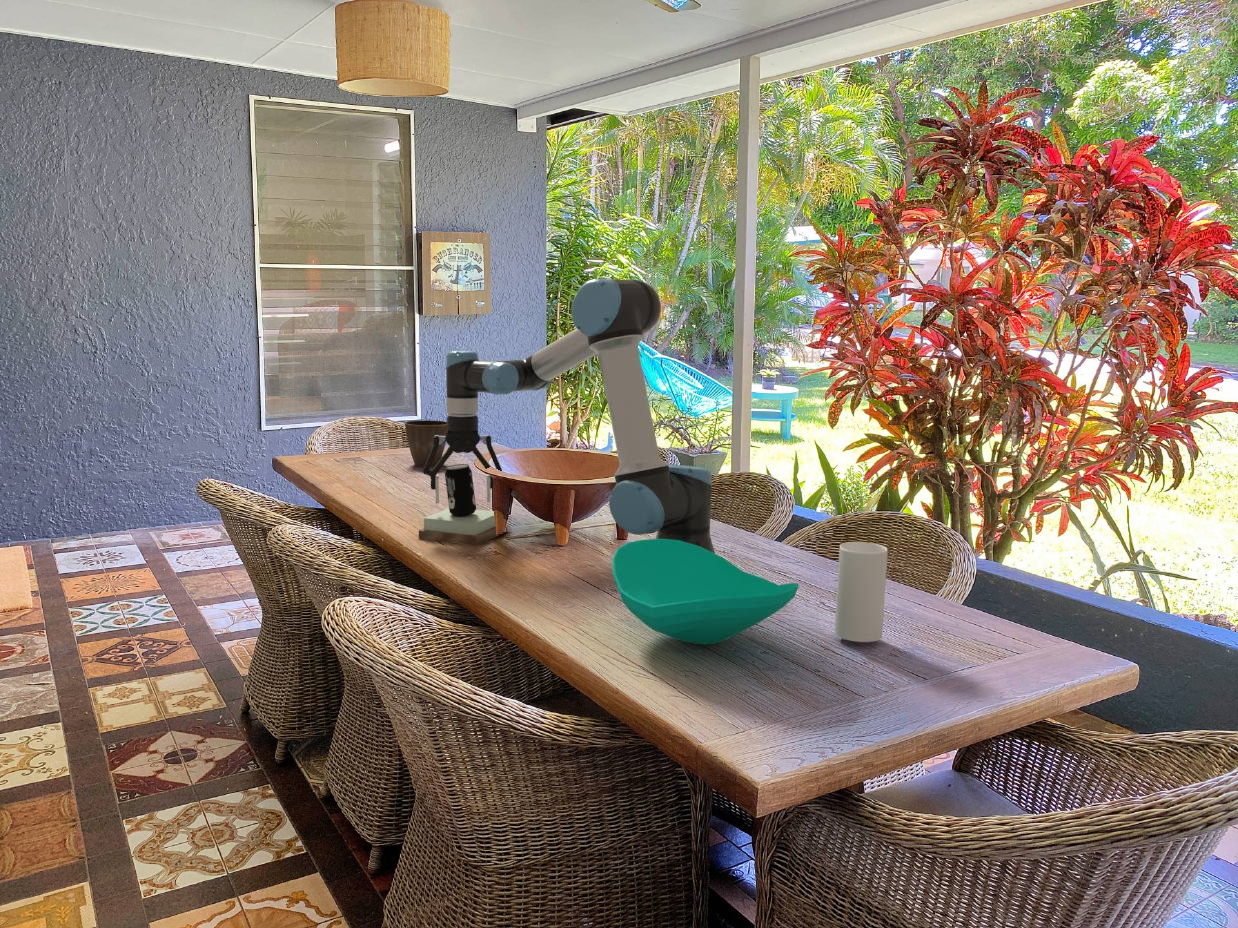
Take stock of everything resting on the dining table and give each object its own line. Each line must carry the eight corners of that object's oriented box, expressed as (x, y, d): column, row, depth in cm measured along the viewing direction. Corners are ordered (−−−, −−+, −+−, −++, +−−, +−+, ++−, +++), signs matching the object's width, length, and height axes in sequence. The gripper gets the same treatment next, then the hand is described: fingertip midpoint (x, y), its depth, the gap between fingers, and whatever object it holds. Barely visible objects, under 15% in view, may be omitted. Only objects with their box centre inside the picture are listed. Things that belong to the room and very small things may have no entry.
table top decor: (576, 616, 182) (577, 547, 179) (698, 596, 196) (700, 532, 194) (700, 690, 148) (703, 605, 146) (837, 659, 162) (841, 582, 160)
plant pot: (436, 463, 350) (435, 419, 347) (457, 469, 339) (456, 423, 336) (397, 467, 341) (397, 421, 338) (418, 473, 329) (417, 426, 327)
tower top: (501, 523, 247) (501, 512, 247) (475, 535, 234) (475, 523, 234) (452, 518, 252) (452, 507, 251) (424, 530, 239) (423, 518, 238)
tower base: (507, 534, 248) (507, 523, 248) (477, 549, 233) (477, 536, 233) (451, 529, 253) (450, 517, 253) (418, 542, 238) (418, 530, 238)
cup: (847, 623, 181) (852, 539, 178) (889, 633, 175) (895, 547, 173) (826, 634, 174) (831, 547, 172) (869, 645, 169) (875, 555, 167)
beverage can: (473, 515, 239) (467, 467, 237) (447, 517, 239) (440, 469, 237) (479, 509, 245) (473, 462, 243) (453, 511, 246) (447, 464, 244)
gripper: (510, 413, 244) (510, 498, 248) (412, 413, 240) (413, 499, 243) (513, 416, 237) (513, 504, 240) (411, 416, 232) (412, 505, 236)
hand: (463, 502), depth 242 cm, fingers open, 12 cm apart
